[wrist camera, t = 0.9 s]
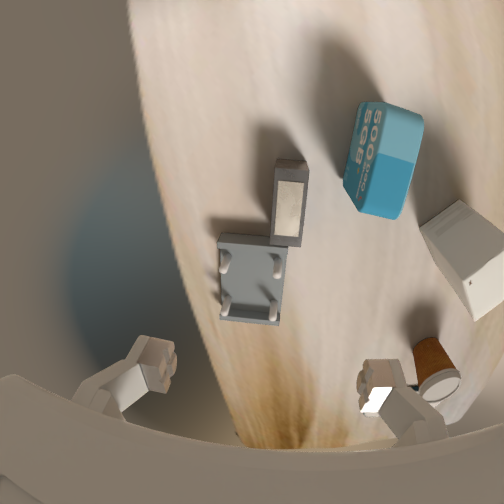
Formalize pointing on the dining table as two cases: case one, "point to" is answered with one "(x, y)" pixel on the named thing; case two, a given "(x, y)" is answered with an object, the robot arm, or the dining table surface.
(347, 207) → the dining table surface
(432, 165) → the dining table surface
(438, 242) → the supplement box
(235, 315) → the tray
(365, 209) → the data package
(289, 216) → the block
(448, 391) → the disposable coffee cup
